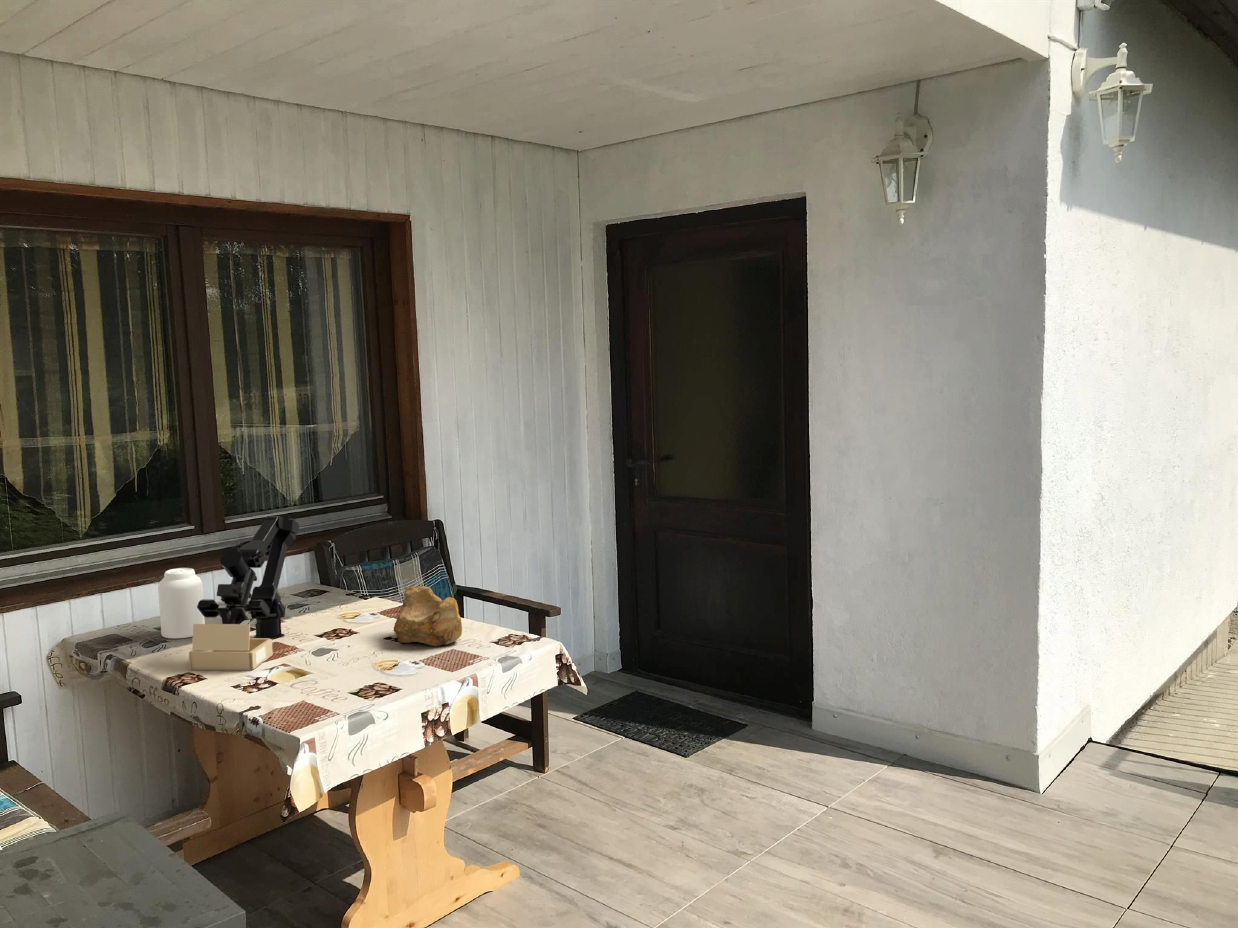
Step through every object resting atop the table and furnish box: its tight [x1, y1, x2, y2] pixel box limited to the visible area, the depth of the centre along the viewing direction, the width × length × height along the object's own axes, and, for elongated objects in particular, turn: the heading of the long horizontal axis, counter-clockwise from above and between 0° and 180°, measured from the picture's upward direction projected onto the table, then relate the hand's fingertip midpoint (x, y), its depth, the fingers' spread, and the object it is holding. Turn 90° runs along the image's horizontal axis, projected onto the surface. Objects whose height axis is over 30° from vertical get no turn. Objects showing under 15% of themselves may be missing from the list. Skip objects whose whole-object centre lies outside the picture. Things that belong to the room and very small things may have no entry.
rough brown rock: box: [393, 585, 463, 648], centre depth 292 cm, size 23×16×15 cm
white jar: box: [157, 567, 206, 640], centre depth 303 cm, size 12×12×20 cm
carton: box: [188, 637, 274, 671], centre depth 275 cm, size 14×18×5 cm
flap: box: [191, 623, 251, 651], centre depth 268 cm, size 1×16×7 cm, turn 86°
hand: (225, 635), depth 270 cm, fingers closed
